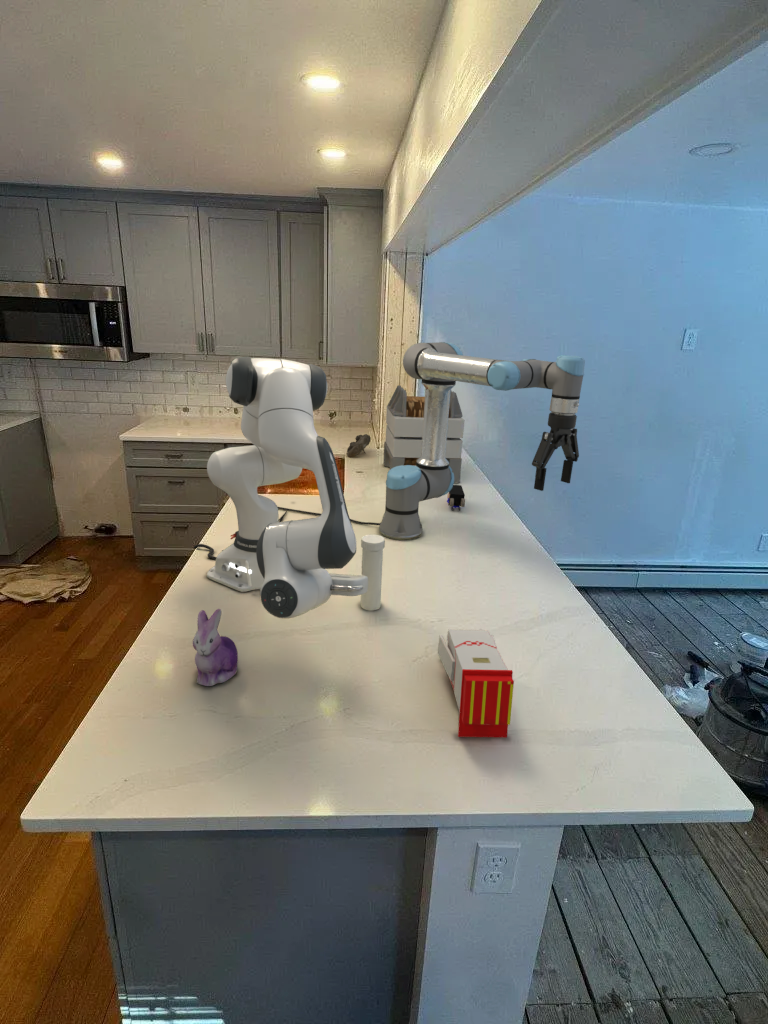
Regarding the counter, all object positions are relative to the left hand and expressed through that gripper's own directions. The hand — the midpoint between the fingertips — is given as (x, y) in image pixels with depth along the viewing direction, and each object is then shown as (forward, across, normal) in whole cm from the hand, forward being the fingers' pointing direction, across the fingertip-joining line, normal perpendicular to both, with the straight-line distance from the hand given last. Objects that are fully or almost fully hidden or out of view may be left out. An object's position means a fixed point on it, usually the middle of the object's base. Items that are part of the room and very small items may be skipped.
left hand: (331, 578), depth 129 cm
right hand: (+50, -50, -24) cm, 75 cm away
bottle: (+24, -4, +10) cm, 26 cm away
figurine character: (+108, -16, -17) cm, 111 cm away
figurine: (-14, +20, +20) cm, 32 cm away
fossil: (+173, +44, -44) cm, 184 cm away
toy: (-3, -32, +21) cm, 39 cm away
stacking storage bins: (+149, +6, -32) cm, 153 cm away
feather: (+77, +44, -12) cm, 89 cm away
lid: (+18, -5, -8) cm, 20 cm away
